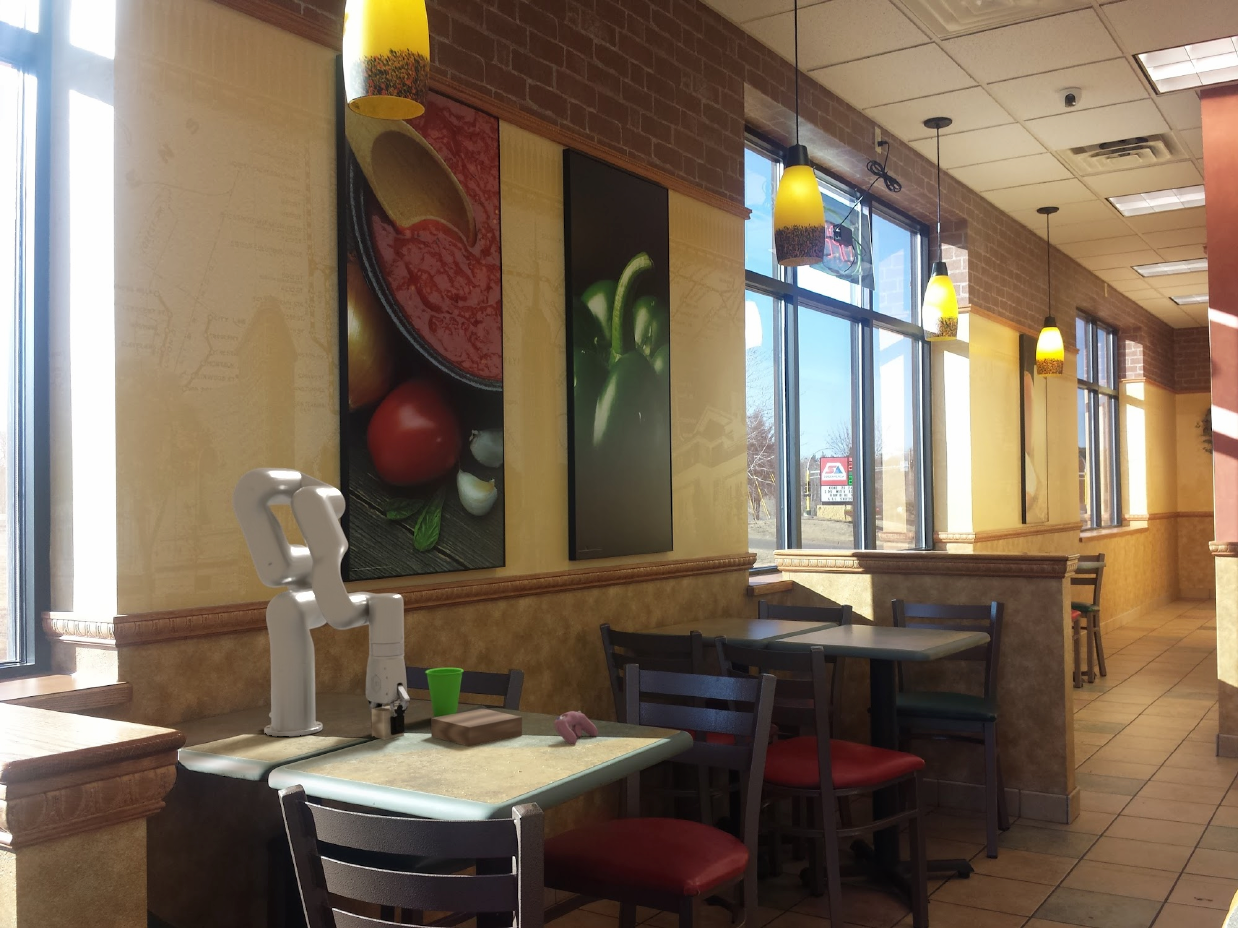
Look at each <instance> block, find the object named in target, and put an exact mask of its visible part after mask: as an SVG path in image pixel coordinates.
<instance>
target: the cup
mask: <svg viewBox="0 0 1238 928" xmlns="http://www.w3.org/2000/svg"><path fill="white" fill-rule="evenodd" d="M463 673H464V669H462V668H458V667H438V668H437V667H436V668H431V669H427V670H425V671H424V674H426V677H427V683H428V688H429V694H430V700H431V707H432V714H433V718H435V717H440V716H446V715H451V714H456V713H457V711H458V705H459V699H460V698H459V697H460V691H461V684H462V678H463Z"/></svg>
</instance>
